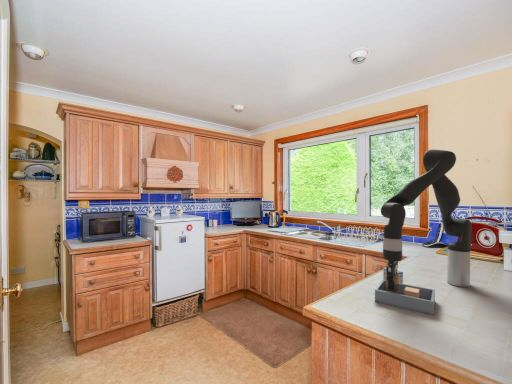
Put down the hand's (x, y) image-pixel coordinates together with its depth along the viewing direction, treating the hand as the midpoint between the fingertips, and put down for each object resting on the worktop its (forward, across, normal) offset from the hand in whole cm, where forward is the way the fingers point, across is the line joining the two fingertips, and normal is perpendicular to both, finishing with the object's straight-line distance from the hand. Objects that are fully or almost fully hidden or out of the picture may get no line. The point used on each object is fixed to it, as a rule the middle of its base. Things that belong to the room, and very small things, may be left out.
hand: (392, 287), depth 115 cm
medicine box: (+5, +15, +2) cm, 16 cm away
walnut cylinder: (+1, 0, 0) cm, 1 cm away
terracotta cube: (+4, 0, -8) cm, 9 cm away
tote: (+5, 0, -5) cm, 7 cm away
